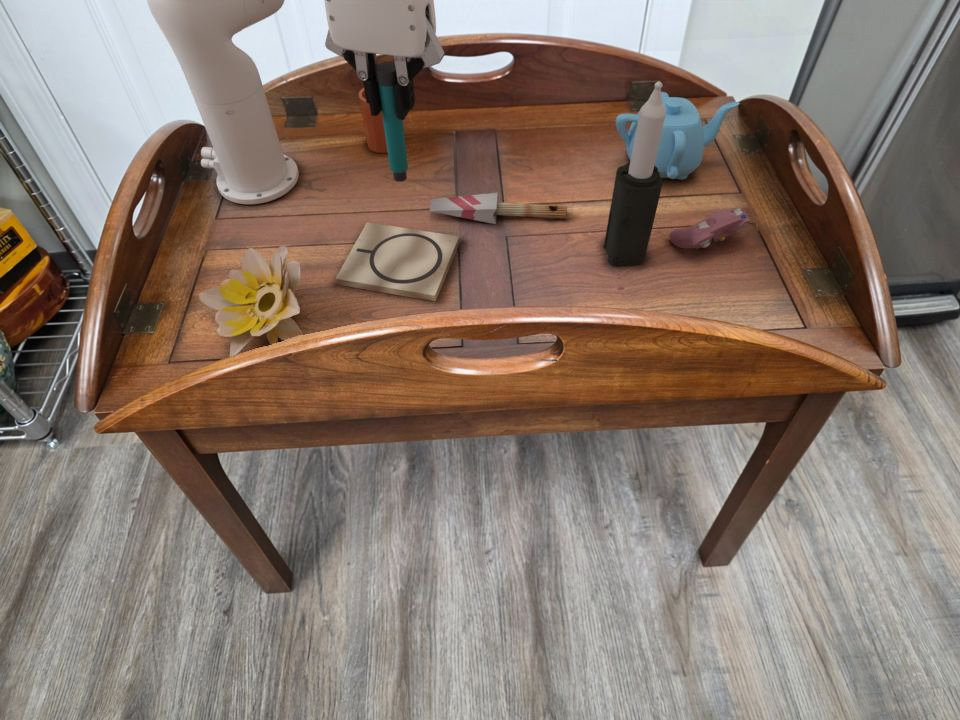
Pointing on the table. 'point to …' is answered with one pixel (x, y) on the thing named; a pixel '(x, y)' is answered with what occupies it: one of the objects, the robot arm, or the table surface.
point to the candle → (637, 189)
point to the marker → (392, 120)
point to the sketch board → (399, 261)
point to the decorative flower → (256, 300)
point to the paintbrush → (492, 208)
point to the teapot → (677, 135)
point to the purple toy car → (710, 229)
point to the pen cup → (373, 126)
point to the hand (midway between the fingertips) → (391, 110)
